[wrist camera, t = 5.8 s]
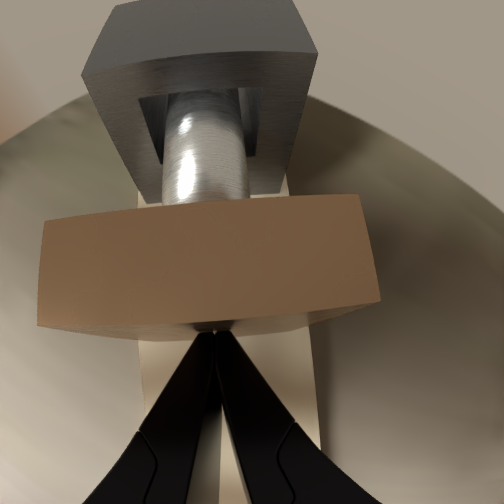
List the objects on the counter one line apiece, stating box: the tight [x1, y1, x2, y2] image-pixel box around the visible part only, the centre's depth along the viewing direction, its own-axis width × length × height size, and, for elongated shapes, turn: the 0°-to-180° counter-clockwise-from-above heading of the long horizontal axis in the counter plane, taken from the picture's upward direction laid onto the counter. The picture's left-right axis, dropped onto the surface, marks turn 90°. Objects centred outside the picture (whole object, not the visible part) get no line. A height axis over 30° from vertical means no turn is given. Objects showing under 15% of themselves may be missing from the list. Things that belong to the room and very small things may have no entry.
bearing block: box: [81, 0, 318, 204], centre depth 12 cm, size 5×7×9 cm
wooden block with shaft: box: [37, 88, 381, 342], centre depth 11 cm, size 12×6×9 cm, turn 6°
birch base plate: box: [138, 174, 321, 504], centre depth 13 cm, size 30×8×1 cm, turn 6°
